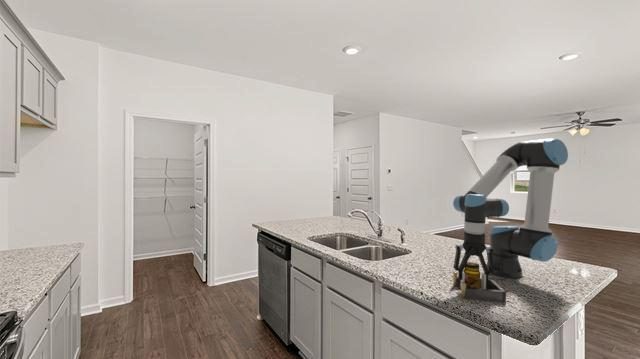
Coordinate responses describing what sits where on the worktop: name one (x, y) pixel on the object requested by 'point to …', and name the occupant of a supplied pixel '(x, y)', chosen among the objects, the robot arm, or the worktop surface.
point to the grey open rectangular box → (481, 291)
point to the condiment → (472, 275)
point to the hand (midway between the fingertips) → (472, 288)
